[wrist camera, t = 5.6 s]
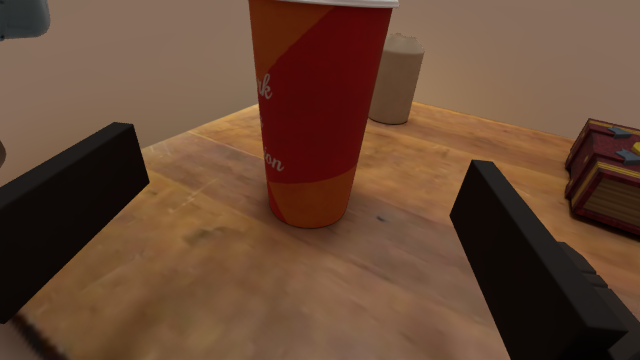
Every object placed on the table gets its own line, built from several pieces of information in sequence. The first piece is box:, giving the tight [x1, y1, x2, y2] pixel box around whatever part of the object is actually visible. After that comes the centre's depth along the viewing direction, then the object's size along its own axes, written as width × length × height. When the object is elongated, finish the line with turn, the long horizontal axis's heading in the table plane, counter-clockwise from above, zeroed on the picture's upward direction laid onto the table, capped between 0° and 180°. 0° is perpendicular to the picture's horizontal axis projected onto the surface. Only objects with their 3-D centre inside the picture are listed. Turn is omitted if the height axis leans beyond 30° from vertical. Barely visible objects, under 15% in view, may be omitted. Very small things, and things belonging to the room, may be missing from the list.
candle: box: [368, 33, 424, 124], centre depth 38 cm, size 6×6×10 cm
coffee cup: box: [249, 0, 400, 228], centre depth 19 cm, size 8×8×15 cm
